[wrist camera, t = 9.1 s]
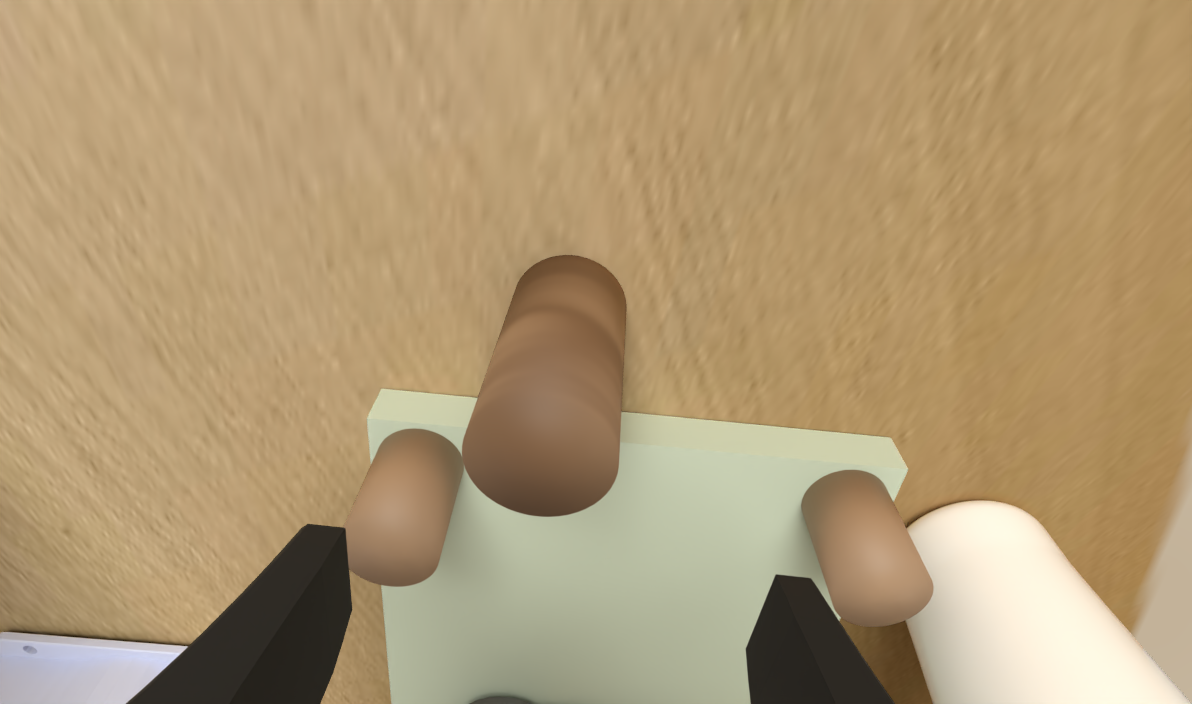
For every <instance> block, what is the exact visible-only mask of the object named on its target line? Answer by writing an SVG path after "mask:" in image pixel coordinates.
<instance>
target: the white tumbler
mask: <svg viewBox="0 0 1192 704" xmlns="http://www.w3.org/2000/svg"><path fill="white" fill-rule="evenodd" d="M906 529H907V531H908V533H909V535H910V537H911V539H912V541H913V543H914V545H915V547H916V549H917V551H918V553H919V555H920V557H921V559H922V561H923V563H924V565H925V567H926V569H927V571H928V573H929V575H930V577H931V579H932V582H933V586H934V588H933V595H932V597H931V599H930V601H929V603H928V604H927V605H926V606H925V607H924V608H923V609H922V610H921V611H920V612H919V613H917V614H916V615H914V616H913V617H911V618H909V619H907V620H905V621H906V624H907V627H908V630H909V633H910V636H911V639H912V642H913V645H914V648H915V651H916V654H917V657H918V660H919V663H920V666H921V669H922V672H923V675H924V678H925V681H926V684H927V687H928V690H929V693H930V696H931V699H932V702H933V704H1192V703H1191V702H1190V701H1189V700H1188V699H1187V698H1186V696H1185V695H1184V694H1183V693H1182V692H1181V691H1180V689H1179V688H1178V687H1177V686H1176V685H1175V684H1174V683H1173V681H1172V680H1171V679H1170V678H1169V677H1168V676H1167V675H1166V673H1165V672H1164V671H1163V670H1162V669H1161V668H1160V666H1159V665H1158V664H1157V663H1156V662H1155V661H1154V660H1153V658H1152V657H1151V656H1150V655H1149V654H1148V653H1147V652H1146V651H1145V649H1144V648H1143V647H1142V646H1141V645H1140V644H1139V642H1138V641H1137V640H1136V639H1135V638H1134V637H1133V635H1132V634H1131V633H1130V632H1129V631H1128V630H1127V629H1126V627H1125V626H1124V625H1123V624H1122V623H1121V622H1120V620H1119V619H1118V618H1117V617H1116V616H1115V615H1114V614H1113V612H1112V611H1111V610H1110V609H1109V608H1108V607H1107V605H1106V604H1105V603H1104V602H1103V601H1102V600H1101V598H1100V597H1099V596H1098V595H1097V594H1096V593H1095V591H1094V590H1093V589H1092V588H1091V587H1090V586H1089V584H1088V583H1087V582H1086V581H1085V580H1084V579H1083V577H1082V576H1081V575H1080V574H1079V573H1078V572H1077V570H1076V569H1075V568H1074V567H1073V566H1072V564H1071V563H1070V562H1069V560H1068V559H1067V558H1066V556H1065V555H1064V554H1063V552H1062V551H1061V549H1060V548H1059V547H1058V545H1057V544H1056V543H1055V541H1054V540H1053V538H1052V537H1051V536H1050V534H1049V533H1048V532H1047V530H1046V529H1045V528H1044V527H1043V526H1042V525H1041V523H1040V522H1039V521H1038V520H1036V519H1035V518H1034V517H1033V516H1032V515H1030V514H1029V513H1027V512H1026V511H1024V510H1022V509H1020V508H1018V507H1015V506H1013V505H1010V504H1006V503H1002V502H997V501H988V500H973V501H965V502H959V503H955V504H950V505H947V506H944V507H941V508H939V509H936V510H934V511H932V512H929V513H928V514H926V515H924V516H922V517H921V518H919V519H917V520H916V521H915V522H913V523H912V524H911V525H909V526H908V527H907V528H906Z"/></svg>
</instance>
